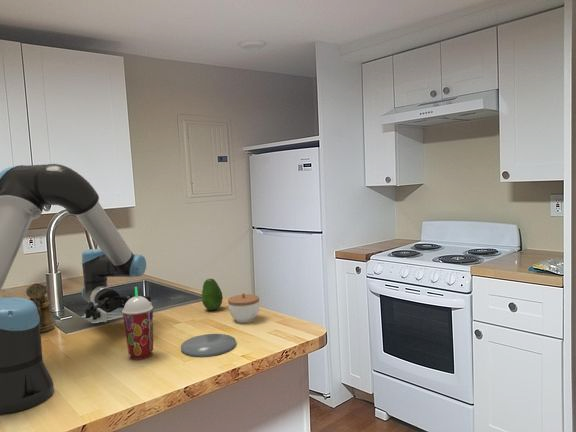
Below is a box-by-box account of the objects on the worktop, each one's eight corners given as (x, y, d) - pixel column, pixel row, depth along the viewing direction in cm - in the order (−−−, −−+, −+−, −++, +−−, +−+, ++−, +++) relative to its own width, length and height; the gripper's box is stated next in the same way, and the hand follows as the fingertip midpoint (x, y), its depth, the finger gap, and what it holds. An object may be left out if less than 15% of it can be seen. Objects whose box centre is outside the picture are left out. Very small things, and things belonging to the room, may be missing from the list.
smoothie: (161, 350, 137) (156, 283, 135) (145, 362, 129) (140, 291, 127) (136, 349, 139) (131, 283, 137) (119, 360, 131) (113, 290, 129)
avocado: (198, 309, 177) (196, 278, 176) (217, 305, 182) (215, 275, 180) (208, 314, 171) (206, 282, 169) (227, 309, 175) (225, 278, 174)
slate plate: (236, 353, 132) (236, 350, 132) (178, 359, 129) (178, 356, 129) (234, 334, 148) (234, 331, 147) (183, 339, 145) (182, 336, 145)
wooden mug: (25, 340, 152) (19, 285, 150) (26, 328, 164) (21, 278, 162) (55, 334, 156) (50, 281, 154) (54, 323, 168) (49, 274, 166)
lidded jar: (230, 326, 156) (228, 299, 155) (228, 317, 166) (226, 291, 165) (262, 323, 158) (260, 296, 157) (258, 314, 168) (256, 288, 167)
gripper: (142, 302, 164) (168, 314, 148) (66, 318, 149) (86, 334, 132) (141, 281, 163) (167, 291, 147) (64, 295, 148) (83, 308, 131)
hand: (128, 312), depth 139 cm, fingers open, 13 cm apart
